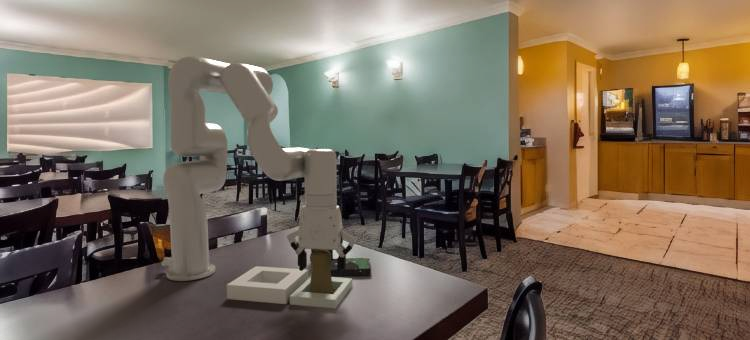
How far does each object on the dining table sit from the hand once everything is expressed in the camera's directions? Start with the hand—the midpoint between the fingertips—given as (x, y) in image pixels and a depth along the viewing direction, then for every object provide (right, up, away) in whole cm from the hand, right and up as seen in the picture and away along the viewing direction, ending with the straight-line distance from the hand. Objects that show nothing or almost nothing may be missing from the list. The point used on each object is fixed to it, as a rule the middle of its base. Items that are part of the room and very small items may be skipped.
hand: (321, 270), depth 100 cm
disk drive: (+4, -5, +18) cm, 19 cm away
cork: (0, -6, +1) cm, 6 cm away
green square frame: (0, -6, 0) cm, 6 cm away
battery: (-3, -4, +28) cm, 28 cm away
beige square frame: (-13, -6, +3) cm, 15 cm away
